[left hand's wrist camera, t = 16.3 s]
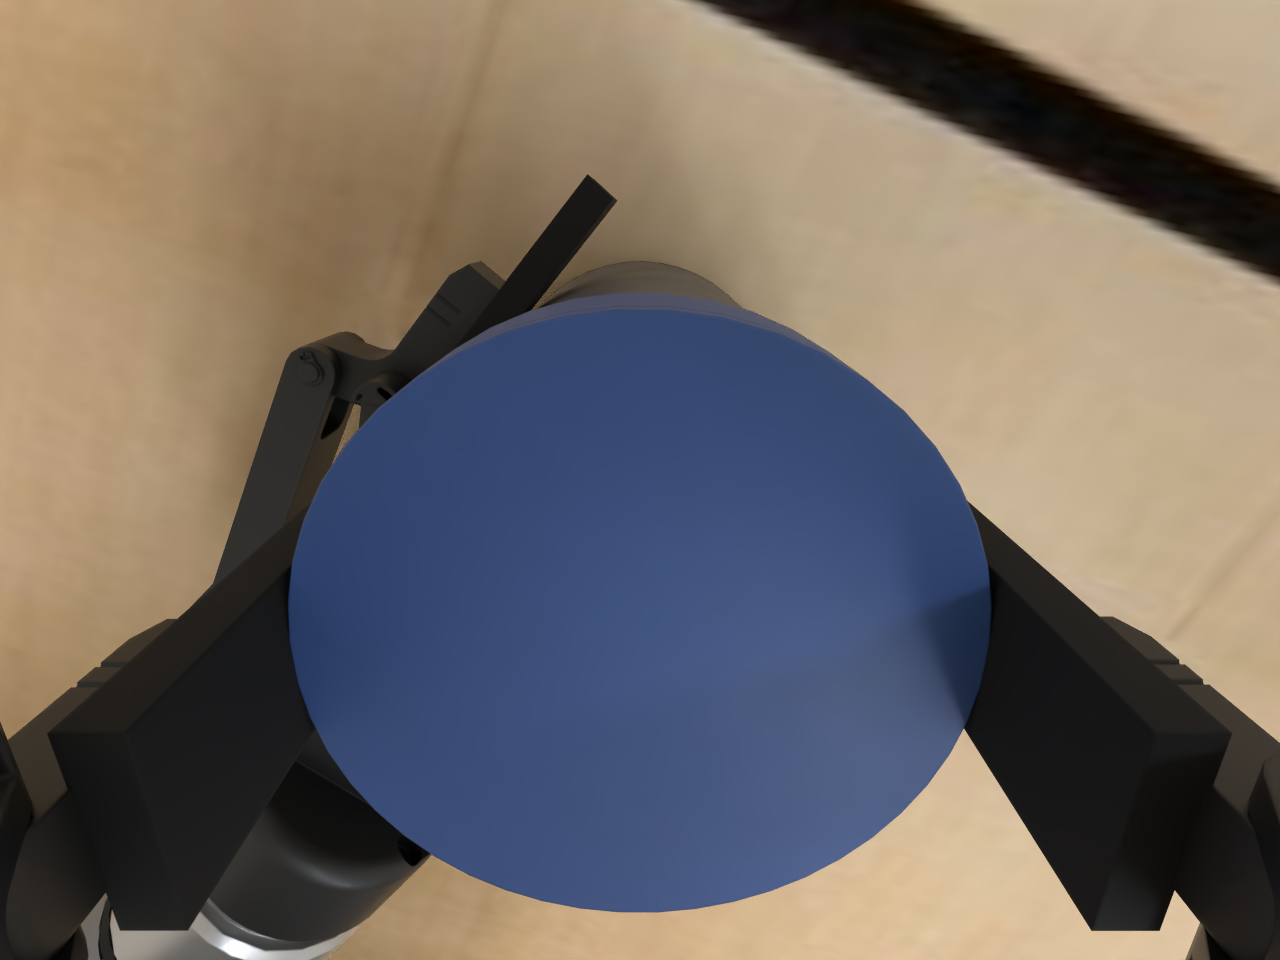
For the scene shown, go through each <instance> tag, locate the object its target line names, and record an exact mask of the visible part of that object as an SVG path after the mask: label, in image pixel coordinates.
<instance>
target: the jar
mask: <svg viewBox="0 0 1280 960" xmlns="http://www.w3.org/2000/svg"><path fill="white" fill-rule="evenodd" d="M615 293H667V294H674V295H681V296H688V297H695V298H702V299H709V300H713V301H716V302H720V303H723V304H727V305H730V306H734V307H737V308H741V309H743V308H742V307H740V306H739V305H738V304H737V303H736V302H735V301H734V300H733V299H732V298H731V297H730V296H728V295H727V294H726V293H725V292H724V291H722V290H721V289H720V288H718V287H717V286H716V285H714V284H713V283H712V282H710V281H708V280H706V279H704V278H702V277H701V276H699V275H697V274H695V273H692V272H690V271H687V270H684V269H682V268H679V267H675V266H671V265H666V264H662V263H653V262H624V263H619V264H613V265H608V266H604V267H601V268H598V269H595V270H592V271H589V272H587V273H585V274H583V275H581V276H579V277H577V278H575V279H573V280H571V281H570V282H568V283H567V284H565V285H564V286H563V287H561V288H560V289H558V290H557V291H556V292H555V293H554V294H552V295H551V296H550V297H549V298H548V299H547V300H546V301H545V302H544V303H543V304H541V305H540V306H539V307H538V308H542V307H545V306H549V305H553V304H557V303H560V302H564V301H568V300H571V299H576V298H584V297H591V296H599V295H607V294H615ZM538 308H537V309H538Z"/></svg>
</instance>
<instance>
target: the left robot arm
mask: <svg viewBox="0 0 1280 960" xmlns="http://www.w3.org/2000/svg"><path fill="white" fill-rule="evenodd" d="M967 502H968V501H967ZM311 503H312V502H310V503H309V504H308V505H307V506H306V507H305V508H304V509H302V510H301V511H300V512H299V513H298V514H297V515H296V516H294V517H293V518H292V519H291V520H290V521H289V522H288V523H286V524H285V525H284V526H283V527H282V528H281V529H280V530H278V531H277V532H276V533H275V534H274V535H273V536H272V537H270V538H269V539H268V540H267V541H266V542H265V543H264V544H262V545H261V546H260V547H259V548H258V549H257V550H256V551H254V552H253V553H252V554H251V555H250V556H249V557H248V558H246V559H245V560H244V561H243V562H242V563H241V564H240V565H238V566H237V567H236V568H235V569H234V570H233V571H232V572H230V573H229V574H228V575H227V576H226V577H225V578H224V579H222V580H221V581H220V582H219V583H218V584H217V585H216V586H214V587H213V588H212V589H211V590H210V591H209V592H208V593H206V594H205V595H204V596H203V597H202V598H201V599H200V600H198V601H197V602H196V603H195V604H194V605H193V606H192V607H190V608H189V609H188V610H187V611H186V612H185V613H184V614H183V615H181V616H180V617H179V618H178V619H167V620H165V621H163V622H161V623H159V624H157V625H155V626H153V627H151V628H150V629H148V630H146V631H144V632H142V633H140V634H138V635H136V636H134V637H132V638H130V639H129V640H128V641H126V642H125V643H124V644H123V645H122V646H120V647H119V648H118V649H117V650H116V651H114V652H113V653H112V654H111V655H110V656H108V657H107V658H106V659H105V660H104V661H102V662H101V667H95V668H94V669H93V670H92V671H90V672H89V673H88V674H87V675H86V676H84V677H83V678H82V679H81V680H80V681H78V682H77V684H78V685H77V687H76V688H70V689H69V690H68V691H66V692H65V693H64V694H63V695H62V696H60V697H59V698H58V699H57V700H56V701H54V702H53V703H52V704H51V705H50V706H48V707H47V708H46V709H45V710H44V711H42V712H41V713H40V714H39V715H38V716H36V717H35V718H34V719H33V720H32V721H30V722H29V723H28V724H27V725H26V726H24V727H23V728H22V729H21V730H20V731H18V732H17V733H16V734H15V735H14V736H12V737H11V738H10V739H9V740H7V738H6V735H5V733H4V730H3V728H2V725H1V723H0V960H88V956H89V954H88V948H87V941H86V937H85V934H84V932H83V929H82V927H81V924H82V922H83V921H84V920H85V919H86V917H87V916H88V915H89V913H90V912H91V911H92V910H93V908H94V907H95V906H96V905H97V903H98V902H99V901H100V899H101V898H102V897H103V896H104V894H105V893H106V894H107V897H108V900H109V903H110V905H111V908H112V911H113V913H114V916H115V919H116V922H117V924H118V927H119V930H120V931H188V930H189V928H190V927H191V925H192V923H193V922H194V920H195V919H196V917H197V916H198V914H199V912H200V911H201V909H202V908H203V906H204V904H205V903H206V901H207V900H208V898H209V896H210V895H211V893H212V892H213V890H214V889H215V887H216V885H217V884H218V882H219V881H220V879H221V877H222V876H223V874H224V873H225V871H226V870H227V868H228V866H229V865H230V863H231V862H232V860H233V858H234V857H235V855H236V854H237V852H238V850H239V849H240V847H241V846H242V844H243V843H244V841H245V839H246V838H247V836H248V835H249V833H250V831H251V830H252V828H253V827H254V825H255V823H256V822H257V820H258V819H259V817H260V816H261V814H262V812H263V811H264V809H265V808H266V806H267V804H268V803H269V801H270V800H271V798H272V797H273V795H274V793H275V792H276V790H277V789H278V787H279V785H280V784H281V782H282V781H283V779H284V777H285V776H286V774H287V773H288V771H289V770H290V768H291V766H292V765H293V763H294V762H295V760H296V758H297V757H298V755H299V754H300V752H301V750H302V749H303V747H304V746H305V744H306V743H307V741H308V739H309V738H310V736H311V735H312V733H313V731H314V730H315V726H314V724H313V722H312V720H311V718H310V716H309V713H308V710H307V707H306V705H305V702H304V699H303V696H302V693H301V691H300V688H299V684H298V680H297V675H296V670H295V666H294V661H293V656H292V651H291V646H290V641H289V622H288V595H289V586H290V577H291V568H292V560H293V557H294V553H295V550H296V546H297V542H298V539H299V535H300V531H301V528H302V524H303V521H304V518H305V516H306V514H307V512H308V510H309V507H310V505H311ZM968 504H969V507H970V509H971V511H972V513H973V516H974V518H975V520H976V523H977V525H978V529H979V533H980V537H981V541H982V544H983V548H984V552H985V556H986V560H987V564H988V572H989V582H990V593H991V603H992V612H991V629H990V642H989V648H988V653H987V657H986V662H985V667H984V672H983V677H982V681H981V686H980V689H979V692H978V695H977V697H976V700H975V703H974V705H973V708H972V711H971V713H970V716H969V719H968V721H967V723H966V725H965V727H964V729H965V731H966V732H967V734H968V735H969V737H970V739H971V740H972V742H973V743H974V745H975V746H976V748H977V750H978V751H979V753H980V754H981V756H982V758H983V759H984V761H985V762H986V764H987V766H988V767H989V769H990V770H991V772H992V773H993V775H994V777H995V778H996V780H997V781H998V783H999V785H1000V786H1001V788H1002V789H1003V791H1004V792H1005V794H1006V796H1007V797H1008V799H1009V800H1010V802H1011V804H1012V805H1013V807H1014V808H1015V810H1016V812H1017V813H1018V815H1019V816H1020V818H1021V819H1022V821H1023V823H1024V824H1025V826H1026V827H1027V829H1028V831H1029V832H1030V834H1031V835H1032V837H1033V839H1034V840H1035V842H1036V843H1037V845H1038V846H1039V848H1040V850H1041V851H1042V853H1043V854H1044V856H1045V858H1046V859H1047V861H1048V862H1049V864H1050V865H1051V867H1052V869H1053V870H1054V872H1055V873H1056V875H1057V877H1058V878H1059V880H1060V881H1061V883H1062V885H1063V886H1064V888H1065V889H1066V891H1067V892H1068V894H1069V896H1070V897H1071V899H1072V900H1073V902H1074V904H1075V905H1076V907H1077V908H1078V910H1079V912H1080V913H1081V915H1082V916H1083V918H1084V919H1085V921H1086V923H1087V924H1088V926H1089V927H1090V929H1091V931H1160V928H1161V925H1162V923H1163V920H1164V917H1165V915H1166V912H1167V909H1168V906H1169V904H1170V901H1171V898H1172V896H1173V893H1174V890H1175V891H1176V892H1177V894H1178V895H1179V896H1180V897H1181V899H1182V900H1183V901H1184V902H1185V904H1186V905H1187V906H1188V907H1189V909H1190V910H1191V911H1192V912H1193V914H1194V915H1195V916H1196V918H1197V919H1198V920H1199V921H1200V924H1199V927H1198V929H1197V932H1196V934H1195V937H1194V940H1193V942H1192V945H1191V947H1190V950H1189V952H1188V955H1187V957H1186V960H1280V743H1279V742H1278V741H1277V740H1275V739H1274V738H1273V737H1272V736H1271V735H1269V734H1268V733H1267V732H1266V731H1265V730H1263V729H1262V728H1261V727H1260V726H1258V725H1257V724H1256V723H1255V722H1254V721H1252V720H1251V719H1250V718H1249V717H1248V716H1246V715H1245V714H1244V713H1243V712H1242V711H1240V710H1239V709H1238V708H1237V707H1236V706H1234V705H1233V704H1232V703H1231V702H1229V701H1228V700H1227V699H1226V698H1225V697H1223V696H1222V695H1221V694H1220V693H1219V692H1217V691H1216V690H1215V689H1214V688H1213V687H1211V686H1210V685H1204V684H1203V679H1202V678H1200V677H1199V676H1198V675H1197V674H1196V673H1194V672H1193V671H1192V670H1191V669H1190V668H1188V667H1187V666H1186V665H1180V664H1179V659H1177V658H1176V657H1175V656H1174V655H1173V654H1171V653H1170V652H1169V651H1168V650H1167V649H1165V648H1164V647H1163V646H1162V645H1161V644H1159V643H1158V642H1157V641H1156V640H1154V639H1153V638H1152V637H1151V636H1149V635H1147V634H1145V633H1143V632H1141V631H1139V630H1137V629H1135V628H1134V627H1132V626H1130V625H1128V624H1126V623H1124V622H1122V621H1120V620H1118V619H1116V618H1114V617H1099V616H1098V615H1097V614H1096V613H1095V612H1094V611H1092V610H1091V609H1090V608H1089V607H1088V606H1087V605H1086V604H1084V603H1083V602H1082V601H1081V600H1080V599H1079V598H1078V597H1076V596H1075V595H1074V594H1073V593H1072V592H1071V591H1070V590H1068V589H1067V588H1066V587H1065V586H1064V585H1063V584H1062V583H1060V582H1059V581H1058V580H1057V579H1056V578H1055V577H1054V576H1052V575H1051V574H1050V573H1049V572H1048V571H1047V570H1046V569H1044V568H1043V567H1042V566H1041V565H1040V564H1039V563H1038V562H1036V561H1035V560H1034V559H1033V558H1032V557H1031V556H1030V555H1029V554H1027V553H1026V552H1025V551H1024V550H1023V549H1022V548H1021V547H1019V546H1018V545H1017V544H1016V543H1015V542H1014V541H1013V540H1011V539H1010V538H1009V537H1008V536H1007V535H1006V534H1005V533H1003V532H1002V531H1001V530H1000V529H999V528H998V527H997V526H995V525H994V524H993V523H992V522H991V521H990V520H989V519H987V518H986V517H985V516H984V515H983V514H982V513H981V512H979V511H978V510H977V509H976V508H975V507H974V506H973V505H971V504H970V503H969V502H968Z"/></svg>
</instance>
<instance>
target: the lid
mask: <svg viewBox="0 0 1280 960" xmlns="http://www.w3.org/2000/svg"><path fill="white" fill-rule="evenodd" d="M991 612H992V603H991V593H990V582H989V572H988V564H987V560H986V556H985V552H984V548H983V544H982V541H981V537H980V533H979V529H978V525H977V523H976V520H975V518H974V516H973V513H972V511H971V509H970V507H969V504H968V502H967V500H966V497H965V495H964V493H963V490H962V488H961V486H960V484H959V482H958V481H957V479H956V478H955V476H954V475H953V473H952V471H951V470H950V468H949V467H948V465H947V464H946V462H945V460H944V459H943V457H942V456H941V454H940V453H939V451H938V449H937V448H936V446H935V445H934V444H933V443H932V442H931V441H930V440H929V438H928V437H927V436H926V435H925V434H924V433H923V432H922V431H921V429H920V428H919V427H918V426H917V425H916V424H915V423H914V421H913V420H912V419H911V418H910V417H909V416H908V415H907V413H906V412H905V411H904V410H902V409H901V408H900V407H899V406H898V405H896V404H895V403H894V402H893V401H892V400H891V399H889V398H888V397H887V396H886V395H885V394H883V393H882V392H881V391H880V390H879V389H878V388H876V387H875V386H874V385H873V384H872V383H870V382H869V381H868V380H867V379H865V378H864V377H863V376H861V375H860V374H859V373H857V372H856V371H854V370H853V369H852V368H850V367H849V366H848V365H846V364H845V363H843V362H842V361H841V360H839V359H838V358H837V357H835V356H834V355H832V354H831V353H830V352H828V351H826V350H825V349H823V348H822V347H820V346H818V345H817V344H815V343H814V342H812V341H810V340H809V339H807V338H806V337H804V336H802V335H801V334H799V333H797V332H796V331H794V330H793V329H790V328H788V327H786V326H784V325H781V324H779V323H777V322H774V321H772V320H770V319H768V318H765V317H763V316H761V315H759V314H756V313H754V312H751V311H748V310H744V309H741V308H737V307H734V306H730V305H727V304H723V303H720V302H716V301H713V300H709V299H702V298H695V297H688V296H681V295H674V294H667V293H615V294H607V295H599V296H591V297H584V298H576V299H571V300H568V301H564V302H560V303H557V304H553V305H549V306H545V307H542V308H538V309H534V310H531V311H528V312H526V313H524V314H521V315H519V316H517V317H514V318H512V319H510V320H507V321H505V322H503V323H500V324H498V325H495V326H493V327H491V328H489V329H487V330H486V331H484V332H482V333H481V334H479V335H477V336H476V337H474V338H472V339H471V340H469V341H467V342H466V343H464V344H462V345H461V346H459V347H457V348H456V349H454V350H453V351H451V352H450V353H449V354H447V355H446V356H444V357H443V358H442V359H440V360H439V361H438V362H436V363H435V364H433V365H432V366H431V367H429V368H428V369H427V370H425V371H424V372H422V373H421V374H420V375H418V376H417V377H416V378H414V379H413V380H412V381H411V382H410V383H408V384H407V385H406V386H405V387H403V388H402V389H401V390H400V391H399V392H397V393H396V394H395V395H394V396H392V397H391V398H390V399H389V400H388V401H386V402H385V403H384V404H383V405H381V406H380V407H379V408H378V409H377V410H376V411H375V412H374V413H373V414H372V416H371V417H370V418H369V419H368V420H367V421H366V422H365V423H364V424H363V425H362V427H361V428H360V429H359V430H358V431H357V432H356V433H355V434H354V435H353V437H352V438H351V439H350V440H349V441H348V442H347V443H346V445H345V446H344V448H343V449H342V451H341V452H340V454H339V455H338V457H337V458H336V460H335V461H334V463H333V464H332V466H331V467H330V469H329V470H328V472H327V473H326V475H325V476H324V478H323V479H322V481H321V483H320V485H319V488H318V490H317V492H316V494H315V496H314V499H313V501H312V503H311V505H310V507H309V510H308V512H307V514H306V516H305V518H304V521H303V524H302V528H301V531H300V535H299V539H298V542H297V546H296V550H295V553H294V557H293V560H292V568H291V577H290V586H289V595H288V622H289V641H290V646H291V651H292V656H293V661H294V666H295V670H296V675H297V680H298V684H299V688H300V691H301V693H302V696H303V699H304V702H305V705H306V707H307V710H308V713H309V716H310V718H311V720H312V722H313V724H314V726H315V728H316V730H317V732H318V734H319V735H320V737H321V739H322V741H323V743H324V745H325V747H326V749H327V751H328V752H329V754H330V755H331V757H332V758H333V759H334V761H335V762H336V764H337V765H338V766H339V768H340V769H341V771H342V772H343V774H344V775H345V776H346V778H347V779H348V781H349V782H350V783H351V784H352V785H353V787H354V788H355V789H356V790H357V791H358V792H359V793H360V794H361V795H362V796H363V797H364V799H365V800H366V801H367V802H368V803H369V804H370V805H371V806H372V807H373V808H374V810H375V811H377V812H378V813H379V814H380V815H381V816H382V817H383V818H385V819H386V820H387V821H388V822H389V823H390V824H392V825H393V826H394V827H395V828H396V829H397V830H399V831H400V832H401V833H402V834H403V835H404V836H406V837H407V838H409V839H410V840H412V841H413V842H415V843H416V844H417V845H419V846H420V847H422V848H423V849H425V850H426V851H428V852H429V853H431V854H432V855H434V856H435V857H437V858H438V859H440V860H442V861H444V862H446V863H448V864H450V865H451V866H453V867H455V868H457V869H459V870H461V871H463V872H465V873H466V874H468V875H470V876H473V877H475V878H478V879H480V880H482V881H485V882H487V883H490V884H492V885H495V886H497V887H499V888H502V889H504V890H507V891H511V892H514V893H517V894H521V895H524V896H527V897H531V898H534V899H537V900H541V901H545V902H550V903H555V904H560V905H566V906H571V907H576V908H582V909H592V910H602V911H612V912H666V911H677V910H688V909H697V908H703V907H708V906H714V905H719V904H724V903H730V902H734V901H738V900H741V899H745V898H748V897H752V896H755V895H759V894H762V893H766V892H769V891H772V890H774V889H777V888H779V887H782V886H784V885H787V884H790V883H792V882H795V881H797V880H800V879H802V878H805V877H807V876H809V875H811V874H813V873H814V872H816V871H818V870H820V869H822V868H824V867H826V866H828V865H830V864H832V863H834V862H835V861H837V860H839V859H841V858H842V857H844V856H845V855H847V854H848V853H850V852H851V851H853V850H854V849H856V848H857V847H859V846H860V845H862V844H863V843H865V842H866V841H868V840H869V839H871V838H872V837H873V836H875V835H876V834H877V833H878V832H879V831H881V830H882V829H883V828H884V827H885V826H887V825H888V824H889V823H890V822H891V821H892V820H894V819H895V818H896V817H897V816H898V815H900V814H901V813H902V812H903V811H904V810H905V808H906V807H907V806H908V805H909V804H910V803H911V802H912V801H913V800H914V799H915V798H916V797H917V796H918V795H919V794H920V792H921V791H922V790H923V789H924V788H925V787H926V786H927V785H928V783H929V782H930V781H931V779H932V778H933V777H934V775H935V774H936V772H937V771H938V770H939V768H940V767H941V766H942V764H943V763H944V761H945V760H946V759H947V757H948V756H949V755H950V753H951V751H952V749H953V747H954V745H955V743H956V742H957V740H958V738H959V736H960V734H961V732H962V731H963V729H964V727H965V725H966V723H967V721H968V719H969V716H970V713H971V711H972V708H973V705H974V703H975V700H976V697H977V695H978V692H979V689H980V686H981V681H982V677H983V672H984V667H985V662H986V657H987V653H988V648H989V642H990V629H991Z"/></svg>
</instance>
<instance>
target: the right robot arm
mask: <svg viewBox="0 0 1280 960" xmlns="http://www.w3.org/2000/svg"><path fill="white" fill-rule="evenodd" d="M616 202H617V200H616V199H615V198H614V197H613V196H612V195H611V194H610V193H608V192H607V191H606V190H605V189H604V188H603V187H602V186H601V185H600V184H599V183H598V182H596V181H595V180H594V179H593V178H592V177H590V176H589V175H588V174H587V176H586V177H585V178H584V180H583V181H582V182H581V184H580V185H579V186H578V188H577V189H576V190H575V191H574V193H573V194H572V195H571V197H570V198H569V199H568V201H567V202H566V203H565V205H564V206H563V207H562V208H561V210H560V211H559V212H558V214H557V215H556V216H555V218H554V219H553V220H552V222H551V223H550V224H549V225H548V227H547V228H546V229H545V231H544V232H543V233H542V235H541V236H540V237H539V239H538V240H537V241H536V242H535V244H534V245H533V246H532V248H531V249H530V250H529V252H528V253H527V254H526V256H525V257H524V258H523V259H522V261H521V262H520V263H519V265H518V266H517V267H516V269H515V270H514V271H513V272H512V274H511V275H510V276H509V278H508V279H507V280H506V281H504V280H503V279H502V278H501V277H500V276H498V275H497V274H496V273H495V272H494V271H492V270H491V269H490V268H489V267H488V266H487V265H485V264H484V263H483V262H482V261H479V262H476V263H472V264H469V265H467V266H465V267H463V268H462V269H460V270H458V271H456V272H455V273H453V274H451V275H449V277H448V278H447V280H446V281H445V282H444V284H443V285H442V286H441V288H440V289H439V290H438V292H437V294H436V295H435V296H434V297H433V299H432V300H431V301H430V303H429V304H428V305H427V307H426V308H425V309H424V311H423V312H422V313H421V315H420V316H419V318H418V319H417V320H416V322H415V323H414V324H413V326H412V327H411V328H410V330H409V331H408V333H407V334H406V335H405V337H404V338H403V339H402V341H401V342H400V343H399V345H398V346H397V347H396V349H395V350H386V349H382V348H378V347H376V346H373V345H370V344H367V343H365V341H364V340H363V339H362V338H361V337H359V336H358V335H356V334H354V333H350V332H339V333H336V334H334V335H331V336H329V337H326V338H323V339H321V340H318V341H316V342H313V343H311V344H308V345H306V346H303V347H301V348H298V349H297V350H295V351H293V352H292V353H291V354H290V355H289V357H288V359H287V360H286V363H285V366H284V369H283V372H282V375H281V378H280V381H279V384H278V387H277V390H276V394H275V397H274V400H273V403H272V406H271V409H270V412H269V415H268V418H267V421H266V424H265V427H264V430H263V433H262V436H261V439H260V442H259V445H258V448H257V451H256V454H255V458H254V461H253V464H252V467H251V470H250V473H249V476H248V479H247V482H246V485H245V488H244V491H243V494H242V497H241V500H240V503H239V506H238V509H237V512H236V515H235V519H234V522H233V525H232V528H231V531H230V534H229V537H228V540H227V543H226V546H225V549H224V552H223V555H222V558H221V561H220V564H219V567H218V570H217V573H216V576H215V580H214V583H213V584H212V585H211V587H210V588H209V589H208V590H207V591H206V592H205V593H204V594H203V595H202V596H201V597H200V598H199V599H198V600H200V599H201V598H202V597H203V596H204V595H205V594H206V593H208V592H209V591H210V590H211V589H212V588H213V587H214V586H216V585H217V584H218V583H219V582H220V581H221V580H222V579H224V578H225V577H226V576H227V575H228V574H229V573H230V572H232V571H233V570H234V569H235V568H236V567H237V566H238V565H240V564H241V563H242V562H243V561H244V560H245V559H246V558H248V557H249V556H250V555H251V554H252V553H253V552H254V551H256V550H257V549H258V548H259V547H260V546H261V545H262V544H264V543H265V542H266V541H267V540H268V539H269V538H270V537H272V536H273V535H274V534H275V533H276V532H277V531H278V530H280V529H281V528H282V527H283V526H284V525H285V524H286V523H288V522H289V521H290V520H291V519H292V518H293V517H294V516H296V515H297V514H298V513H299V512H300V511H301V510H302V509H304V508H305V507H306V506H307V505H308V504H309V503H310V502H312V501H313V499H314V496H315V494H316V492H317V490H318V488H319V485H320V483H321V481H322V479H323V478H324V476H325V475H326V473H327V472H328V470H329V469H330V467H331V465H332V462H333V460H334V457H335V454H336V452H337V449H338V446H339V443H340V441H341V438H342V435H343V433H344V430H345V427H346V425H347V422H348V419H349V416H350V414H351V411H352V408H353V406H354V404H357V405H360V406H361V412H360V423H359V429H360V428H361V427H362V425H363V424H364V423H365V422H366V421H367V420H368V419H369V418H370V417H371V416H372V414H373V413H374V412H375V411H376V410H377V409H378V408H379V407H380V406H381V405H383V404H384V403H385V402H386V401H388V400H389V399H390V398H391V397H392V396H394V395H395V394H396V393H397V392H399V391H400V390H401V389H402V388H403V387H405V386H406V385H407V384H408V383H410V382H411V381H412V380H413V379H414V378H416V377H417V376H418V375H420V374H421V373H422V372H424V371H425V370H427V369H428V368H429V367H431V366H432V365H433V364H435V363H436V362H438V361H439V360H440V359H442V358H443V357H444V356H446V355H447V354H449V353H450V352H451V351H453V350H454V349H456V348H457V347H459V346H461V345H462V344H464V343H466V342H467V341H469V340H471V339H472V338H474V337H476V336H477V335H479V334H481V333H482V332H484V331H486V330H487V329H489V328H491V327H493V326H495V325H498V324H500V323H503V322H505V321H507V320H510V319H512V318H514V317H517V316H519V315H521V314H524V313H526V312H528V311H531V310H532V308H533V307H534V306H535V305H536V303H537V302H538V301H539V299H540V298H541V297H542V296H543V294H544V293H545V292H546V291H547V289H548V288H549V287H550V286H551V284H552V283H553V282H554V280H555V279H556V278H557V277H558V275H559V274H560V273H561V272H562V270H563V269H564V268H565V266H566V265H567V264H568V263H569V261H570V260H571V259H572V258H573V256H574V255H575V254H576V253H577V251H578V250H579V249H580V247H581V246H582V245H583V244H584V242H585V241H586V240H587V239H588V237H589V236H590V235H591V234H592V232H593V231H594V230H595V228H596V227H597V226H598V225H599V223H600V222H601V221H602V220H603V218H604V217H605V216H606V214H607V213H608V212H609V211H610V209H611V208H612V207H613V206H614V204H615V203H616ZM198 600H197V601H198ZM197 601H196V602H197ZM196 602H195V603H196ZM195 603H194V604H195ZM194 604H193V605H194ZM193 605H192V606H193ZM192 606H191V607H192ZM431 855H432V854H431V853H429V852H428V851H426V850H425V849H423V848H422V847H420V846H419V845H417V844H416V843H415V842H413V841H412V840H410V839H409V838H407V837H406V836H404V835H403V834H402V833H401V832H400V831H399V830H397V829H396V828H395V827H394V826H393V825H392V824H390V823H389V822H388V821H387V820H386V819H385V818H383V817H382V816H381V815H380V814H379V813H378V812H377V811H375V810H374V808H373V807H372V806H371V805H370V804H369V803H368V802H367V801H366V800H365V799H364V797H363V796H362V795H361V794H360V793H359V792H358V791H357V790H356V789H355V788H354V787H353V785H352V784H351V783H350V782H349V781H348V779H347V778H346V776H345V775H344V774H343V772H342V771H341V769H340V768H339V766H338V765H337V764H336V762H335V761H334V759H333V758H332V757H331V755H330V754H329V752H328V751H327V749H326V747H325V745H324V743H323V741H322V739H321V737H320V735H319V734H318V732H317V730H316V728H315V730H314V731H313V733H312V735H311V736H310V738H309V739H308V741H307V743H306V744H305V746H304V747H303V749H302V750H301V752H300V754H299V755H298V757H297V758H296V760H295V762H294V763H293V765H292V766H291V768H290V770H289V771H288V773H287V774H286V776H285V777H284V779H283V781H282V782H281V784H280V785H279V787H278V789H277V790H276V792H275V793H274V795H273V797H272V798H271V800H270V801H269V803H268V804H267V806H266V808H265V809H264V811H263V812H262V814H261V816H260V817H259V819H258V820H257V822H256V823H255V825H254V827H253V828H252V830H251V831H250V833H249V835H248V836H247V838H246V839H245V841H244V843H243V844H242V846H241V847H240V849H239V850H238V852H237V854H236V855H235V857H234V858H233V860H232V862H231V863H230V865H229V866H228V868H227V870H226V871H225V873H224V874H223V876H222V877H221V879H220V881H219V882H218V884H217V885H216V887H215V889H214V890H213V892H212V893H211V895H210V896H209V898H208V900H207V901H206V903H205V904H204V906H203V908H202V909H201V911H200V912H199V914H198V916H197V917H196V919H195V920H194V922H193V923H192V925H191V927H190V928H189V930H188V931H120V930H119V927H118V924H117V922H116V919H115V916H114V913H113V911H112V908H111V905H110V903H109V900H108V897H107V894H106V893H105V894H104V896H103V897H102V898H101V899H100V901H99V902H98V903H97V905H96V906H95V907H94V908H93V910H92V911H91V912H90V913H89V915H88V916H87V917H86V919H85V920H84V921H83V922H82V924H81V927H82V929H83V932H84V934H85V937H86V941H87V948H88V954H89V956H88V960H326V959H327V958H328V957H329V956H330V955H331V954H332V953H334V952H335V951H336V950H337V949H338V948H339V947H340V946H341V945H342V944H343V943H344V942H345V941H346V940H348V939H349V938H350V937H351V936H352V935H353V934H354V933H355V931H356V930H357V929H358V928H359V927H360V925H361V924H362V923H363V922H364V921H365V920H366V919H367V918H368V917H370V916H371V915H372V914H373V913H374V912H375V911H376V910H377V909H378V908H379V907H380V906H381V905H382V904H383V903H384V902H385V901H386V900H387V899H388V898H389V897H390V896H391V895H392V894H393V893H394V892H395V891H396V890H397V889H398V888H399V887H400V886H401V885H402V884H403V883H404V882H405V881H406V880H407V879H408V878H409V877H410V876H411V875H412V874H413V873H414V872H415V871H416V870H417V869H418V868H420V867H421V866H422V865H423V864H424V863H425V861H426V860H427V859H428V858H429V857H430V856H431Z"/></svg>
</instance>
